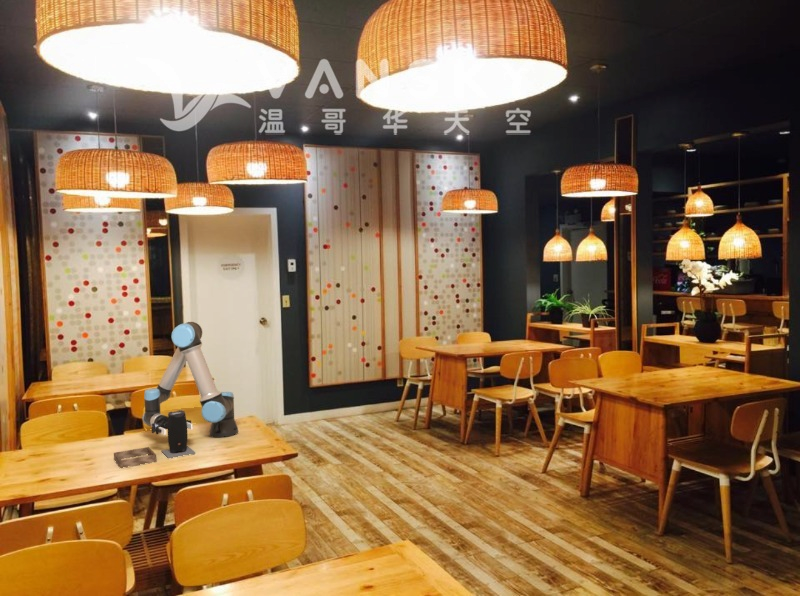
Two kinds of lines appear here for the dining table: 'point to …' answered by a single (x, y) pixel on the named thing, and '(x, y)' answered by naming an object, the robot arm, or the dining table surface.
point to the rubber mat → (177, 453)
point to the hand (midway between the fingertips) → (178, 429)
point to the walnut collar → (134, 453)
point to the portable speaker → (177, 431)
